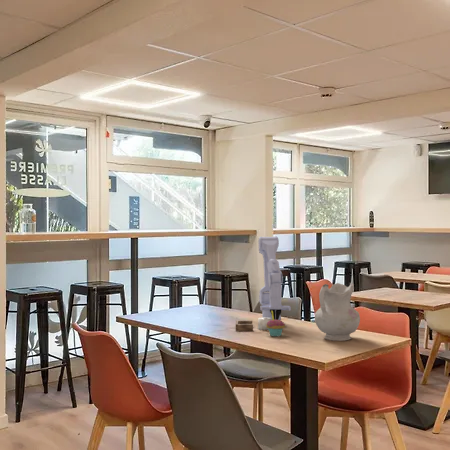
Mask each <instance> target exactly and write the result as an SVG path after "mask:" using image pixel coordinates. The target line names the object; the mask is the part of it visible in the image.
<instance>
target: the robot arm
mask: <svg viewBox="0 0 450 450" xmlns="http://www.w3.org/2000/svg"><path fill="white" fill-rule="evenodd" d="M279 241H280V240H279V237H278V236H259V237H258V241H257V243H258V252H259V254H261V255H262V259H263V260H262V261H263V276H264V277H263V278H264V281H263V282H264V284H263V285H264V286H262V287H261V288H260V289H259V295H258V299H259V300H258V301H259V304H260V306H259V307H260V311H261V312H262V314H261V318H262V317H269V318H272V312H271V311H273V316H274V320H275V319H276V320H281V321H282V316H281V315H282V311H288V312H289V311H291V310H292V309H291V308H292V307H291V305H282V284H283V282H284V281H283V280H284V279H283V278H284V275H283V273H282V270H281V268H280V262H279V261H278V260H277V259H276V258H277V257H276V255H277V254H276V253H277V252H278V250H279ZM271 309H272V310H271Z"/></svg>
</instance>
